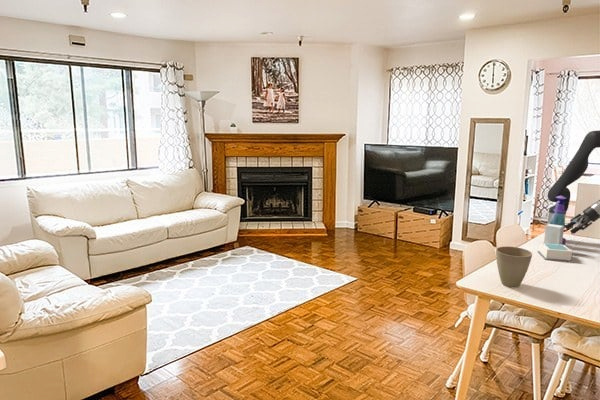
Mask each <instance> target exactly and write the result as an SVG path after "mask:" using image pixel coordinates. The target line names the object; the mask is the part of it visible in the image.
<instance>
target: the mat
mask: <svg viewBox="0 0 600 400" xmlns="http://www.w3.org/2000/svg"><path fill="white" fill-rule="evenodd" d="M537 253H538V254H539V255H540V256H541V257H542V259H544V260H545V261H555V262H567V263H568V262H569V261H570V260H560V259H548V258H545V257H544V256H543V255H542V253H541V252H540V250H537Z"/></svg>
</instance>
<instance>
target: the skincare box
mask: <svg viewBox="0 0 600 400" xmlns="http://www.w3.org/2000/svg"><path fill="white" fill-rule="evenodd" d="M563 230H565V229H564V226H561V225H554V224H547V223H546V225H545V227H544V238H543V239H544V241H543V243H546V244H558V245H562V241H563V238H564V231H563Z"/></svg>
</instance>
